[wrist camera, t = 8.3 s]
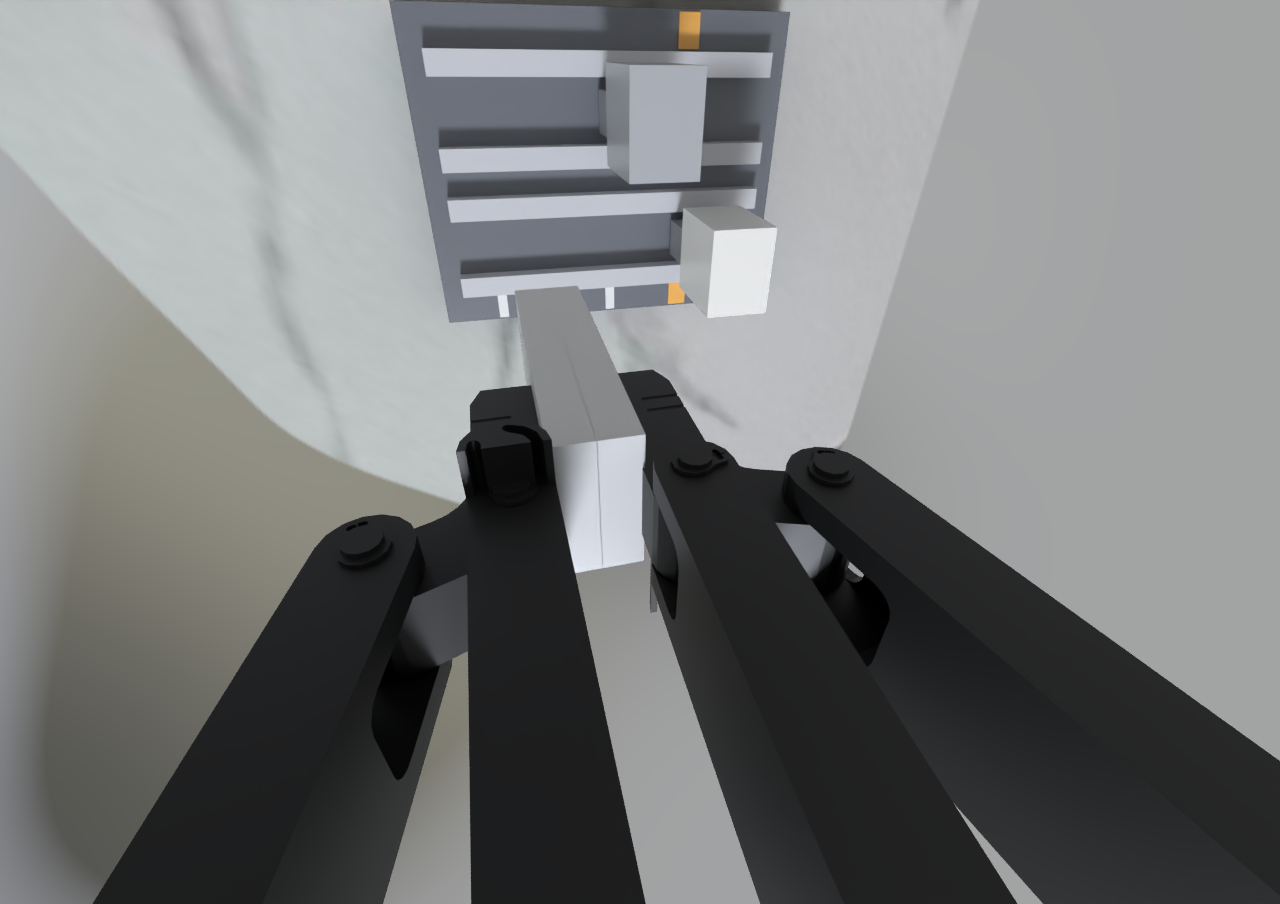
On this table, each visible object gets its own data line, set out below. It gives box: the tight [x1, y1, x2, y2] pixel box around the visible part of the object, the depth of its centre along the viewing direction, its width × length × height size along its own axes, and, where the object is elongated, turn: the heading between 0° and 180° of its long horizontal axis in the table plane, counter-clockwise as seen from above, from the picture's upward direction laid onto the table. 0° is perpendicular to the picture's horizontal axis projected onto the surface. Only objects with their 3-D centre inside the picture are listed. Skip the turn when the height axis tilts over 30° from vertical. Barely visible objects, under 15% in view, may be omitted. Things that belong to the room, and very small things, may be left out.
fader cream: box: [670, 205, 778, 318], centre depth 29 cm, size 4×3×7 cm
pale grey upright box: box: [599, 62, 707, 184], centre depth 25 cm, size 4×3×7 cm
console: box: [389, 0, 790, 323], centre depth 30 cm, size 14×18×3 cm
